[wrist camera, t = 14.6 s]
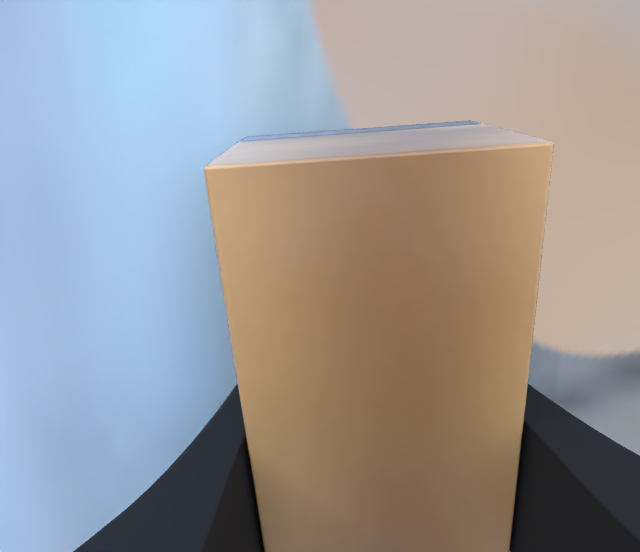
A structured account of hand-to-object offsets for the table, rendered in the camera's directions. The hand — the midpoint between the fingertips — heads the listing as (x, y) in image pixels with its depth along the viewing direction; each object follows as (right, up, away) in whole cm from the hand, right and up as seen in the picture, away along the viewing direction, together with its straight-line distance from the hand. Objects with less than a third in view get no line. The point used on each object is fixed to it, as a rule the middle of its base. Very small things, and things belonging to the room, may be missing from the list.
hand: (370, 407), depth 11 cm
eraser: (0, 0, +1) cm, 1 cm away
